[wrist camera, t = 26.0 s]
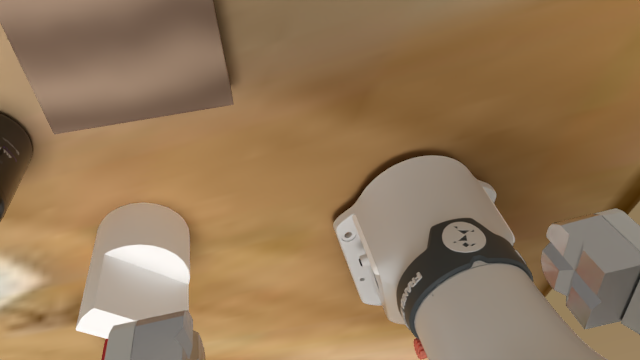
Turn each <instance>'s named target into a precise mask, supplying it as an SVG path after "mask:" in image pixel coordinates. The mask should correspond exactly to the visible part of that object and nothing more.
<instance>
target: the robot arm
mask: <svg viewBox="0 0 640 360" xmlns="http://www.w3.org/2000/svg"><path fill="white" fill-rule="evenodd" d="M495 199H496V192H495V190H494V188H493V187H492V186H491V185H490V184H488V183H485V182H483V181H480V180H477V179H476V178H475V177H474V176H473V175H472V174H471V172H470V171H469V170H468V168H467V167H466V166H464V165H463V164H462V163H460V162H459V161H457V160H455V159H452V158H449V157H445V156H437V155H429V156H420V157H415V158H411V159H408V160H405V161H402V162H400V163H398V164H396V165H394V166H392V167H390V168H388V169H387V170H385V171H384V172H382V173H381V174H380V175H378V176H377V177H376V178H375V179H374V180H373V181H372V182H371V183H370V184H369V185H368V186H367V187H366V188H365V190H364V191H363V192H362V194H361V195H360V197H359V198H358V200H357V201H356V202H355V204H354V205H353V206H352V207H350V208H349V209H348V210H346V211H345V212H344V213H342V214H341V215H340V216H339V217H338V218H337V219H336V220H335V221H334V223H333V228H334V231H335V233H336V236H337V239H338V241H339V244H340V246H341V249H342V252H343V254H344V257H345V260H346V262H347V265H348V268H349V270H350V273H351V276H352V278H353V281H354V283H355V286H356V289H357V291H358V294H359V296H360V298H361V300H362V302H363V303H365V304H370V305H382V306H383V309H384V311H385V313H386V316H387V318H388V319H389V320H390V321H392V322H394V323H398V324H406V326H407V327H408V329H409V330H411V332H412V333H413V335H414V336H415V337H416V339H414V347H415V351H416V354H417V355H418V358H420V360H421V359H425V358H427V357H428V359H429V360H607V359H605V358H604V357H602V356H601V355H599V354H598V353H597V352H595V351H594V350H593V349H591V348H590V347H589V346H588V345H587V344H585V342H584V341H582V340H581V339H580V338H579V337H578V336H577V334H575V332H574V331H573V330H572V329H571V328H570V327H569V326H568V325H567V323H566V322H565V321H563V319H562V318H561V317H560V316H559V314H558V313H557V312H556V311H555V310H554V308H553V307H552V306H551V305H550V304H549V302H548V301H547V300H546V299H545V297H544V296H543V295H542V294H541V292H540V291H539V290H538V288H537V287H536V286H535V284H534V283H533V276H532V273H531V272H530V270H529V268H528V267H527V265H526V262H525V261H524V259H523V258H522V256H521V255H520V254H519V253H518V251H517V250H515V249H514V248H513V243H514V242H515V237H514V235H513V233H512V231H511V230H510V228H509V226H508V225H507V223H506V222H505V220H504V219H503V217H502V215H501V214H500V212H499V211H498V209H497V208H496V206H495V204H494V202H495ZM347 232H349V233H347ZM546 237H547V238H548V239H549V240H550V243H549V244H548V245H547V246H546V247H545V248H544V249H543V251H542V257H541V264H542V269H543V273H544V275H545V277H546V279H547V281H548V282H549V284H550V285H551V287H552V288H553V289H554V290H556V291H557V292H559V293H562V294H563V295H566V306H567V307H568V308H569V310H570V311H571V313H572V314H573V315H574V316H575V318H576V319H577V320H578V321H579V323H580V324H581V325H582V327H583V328H584V329H588V328H593V327H597V326H601V325H606V324H610V323H614V322H619V321H621V323H622V324H623V325H625V326H627V327H628V328H630V329H631V330H633V331H635V332H637V333H638V334H640V226H639V225H638V224H637V223H636V222H635V221H634V220H632V219H631V218H630V217H629V216H628V215H627V214H626V213H625V212H623V211H622V210H619V209H617V208H615V209H611V210H607V211H603V212H598V213H595V214H589V215H585V216H580V217H576V218H572V219H568V220H564V221H560V222H556V223H552V225H551V226H550V227H549V228H548V231H547V235H546ZM104 360H206V359H205V352H204V347H203V343H202V340H201V337H200V335H199V333H198V332H196V331H194V330H193V319H192V317H191V315H190V313H189V311H188V310H184V311H179V312H175V313H170V314H165V315H160V316H155V317H151V318H146V319H141V320H137V321H133V322H128V323H124V324H119V325H114V326H113V327H112V329H111V331H110V333H109V336H108V342H107V347H106V353H105V359H104Z"/></svg>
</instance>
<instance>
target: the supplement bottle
mask: <svg viewBox="0 0 640 360" xmlns="http://www.w3.org/2000/svg"><path fill="white" fill-rule="evenodd" d="M31 158H32V145H31V141H30V139H29V137H28V135H27V134H26V132H25V131H24V130H23V128H22V127H21V126H20V125H19V124H17V123H16V122H15V121H13V120H12V119H11V118H9V117H7V116H5V115H3V114H1V113H0V222H1V220H2V219H3V217H4V215H5V213H6V211H7V209H8V207H9V205H10V203H11V201H12V199H13V197H14V194H15V192H16V190H17V188H18V186H19V184H20V182H21V180H22V178H23V176H24V174H25V172H26V170H27V168H28V166H29V163H30V161H31Z"/></svg>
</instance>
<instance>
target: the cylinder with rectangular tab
mask: <svg viewBox="0 0 640 360" xmlns="http://www.w3.org/2000/svg"><path fill="white" fill-rule="evenodd" d="M189 281H190V234H189V228H188V226H187V224H186V222H185V220H184V219H183V218H182V217H181V216H180V215H179V214H178V213H177V212H175V211H173V210H171V209H170V208H168V207H165V206H162V205H159V204H154V203H145V202H144V203H131V204H128V205H125V206H121V207H119V208H117V209H115V210H113V211H112V212H110V213H109V214H108V215H107V216H106V217H105V218H104V219H103V220H102V222H101V223H100V225H99V227H98V231H97V235H96V240H95V244H94V249H93V253H92V258H91V263H90V267H89V272H88V276H87V281H86V285H85V290H84V294H83V299H82V303H81V308H80V312H79V317H78V321H77V326H76V331H80V332H84V333H87V334H91V335H95V336H99V337H102V338H106V339H108V336H109V333H110V331H111V329H112V327H113V326H114V325H119V324H124V323H128V322H133V321H137V320H141V319H146V318H151V317H155V316H160V315H165V314H170V313H175V312H179V311H184V310H188V311H189Z"/></svg>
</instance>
